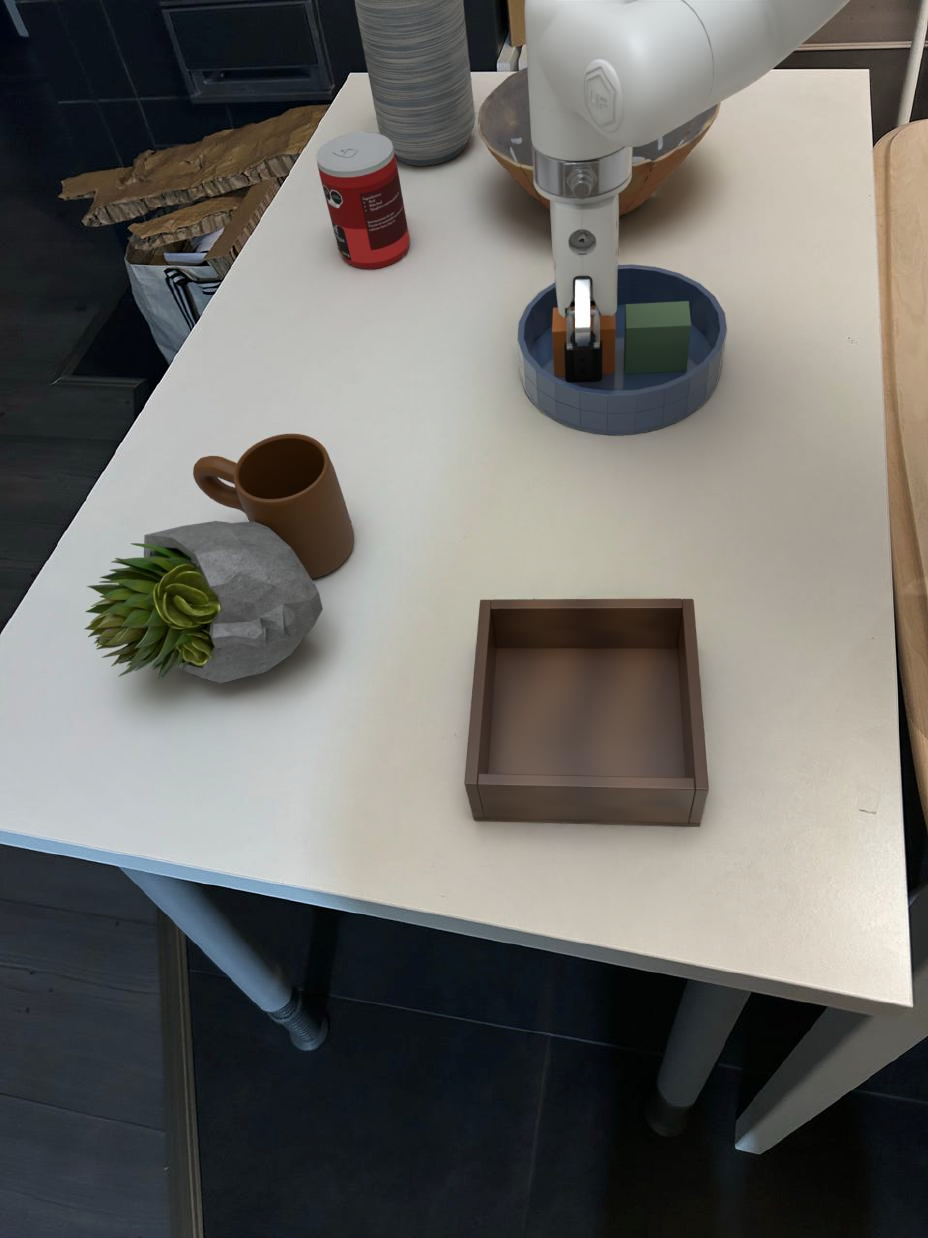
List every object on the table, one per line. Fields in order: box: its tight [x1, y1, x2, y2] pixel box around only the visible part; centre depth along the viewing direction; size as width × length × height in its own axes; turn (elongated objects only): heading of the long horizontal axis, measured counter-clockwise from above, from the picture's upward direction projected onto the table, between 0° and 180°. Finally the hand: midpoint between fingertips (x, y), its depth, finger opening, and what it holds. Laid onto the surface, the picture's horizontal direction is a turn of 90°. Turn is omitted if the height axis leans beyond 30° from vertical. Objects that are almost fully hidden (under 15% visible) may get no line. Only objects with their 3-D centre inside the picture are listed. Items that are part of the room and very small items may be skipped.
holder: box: [463, 597, 710, 828], centre depth 61 cm, size 15×14×6 cm
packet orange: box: [552, 306, 616, 376], centre depth 83 cm, size 6×3×5 cm, turn 85°
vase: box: [353, 0, 476, 167], centre depth 103 cm, size 12×12×23 cm
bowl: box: [477, 66, 722, 217], centre depth 98 cm, size 25×25×10 cm
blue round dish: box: [517, 264, 728, 436], centre depth 83 cm, size 18×18×4 cm
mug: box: [192, 433, 355, 580], centre depth 73 cm, size 12×8×9 cm, turn 74°
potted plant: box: [84, 520, 323, 684], centre depth 66 cm, size 12×13×15 cm
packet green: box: [624, 301, 691, 374], centre depth 82 cm, size 6×3×5 cm, turn 86°
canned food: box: [315, 131, 410, 270], centre depth 96 cm, size 8×8×11 cm
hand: (583, 344), depth 84 cm, fingers open, 9 cm apart
